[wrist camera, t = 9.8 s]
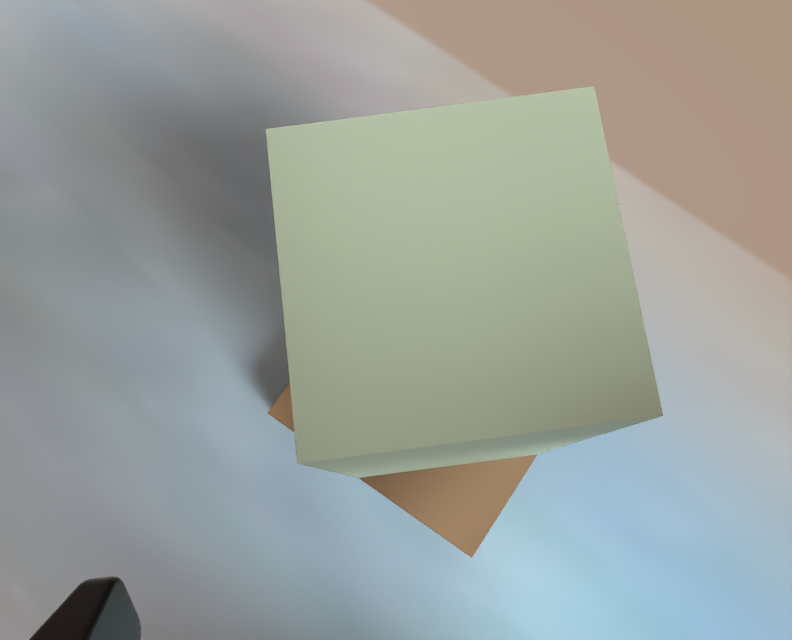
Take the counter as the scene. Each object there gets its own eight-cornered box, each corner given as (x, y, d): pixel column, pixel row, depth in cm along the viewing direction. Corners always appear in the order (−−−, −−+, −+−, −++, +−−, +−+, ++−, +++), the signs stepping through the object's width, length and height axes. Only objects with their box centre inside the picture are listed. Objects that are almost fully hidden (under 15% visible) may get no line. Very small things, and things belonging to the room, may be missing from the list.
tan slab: (586, 364, 24) (604, 349, 21) (466, 551, 23) (471, 557, 20) (406, 249, 25) (404, 222, 22) (283, 421, 24) (267, 413, 21)
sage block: (535, 454, 21) (662, 415, 10) (358, 478, 21) (297, 463, 10) (507, 284, 22) (593, 86, 11) (339, 306, 22) (265, 129, 11)
